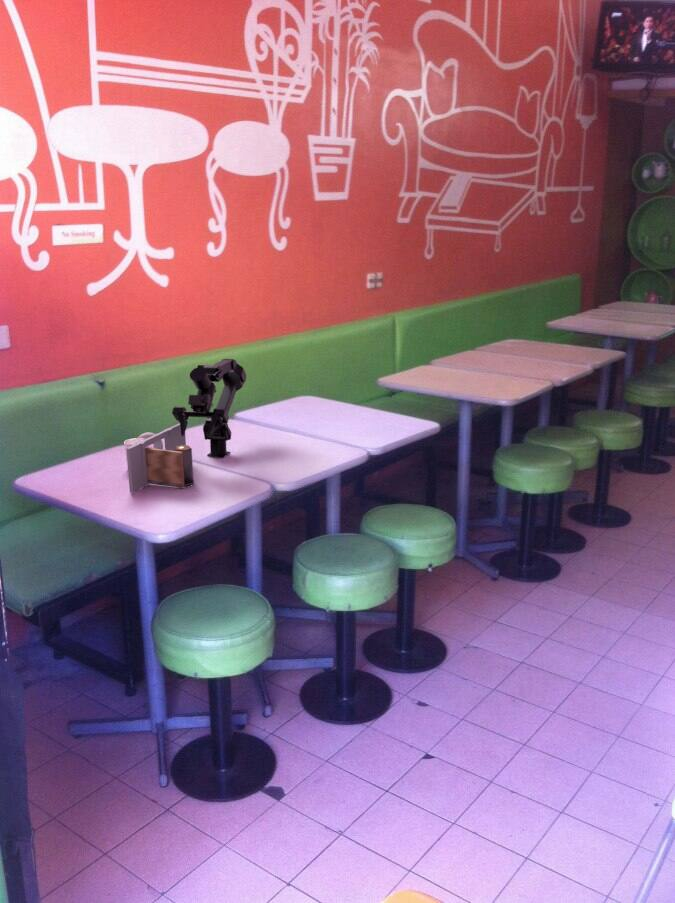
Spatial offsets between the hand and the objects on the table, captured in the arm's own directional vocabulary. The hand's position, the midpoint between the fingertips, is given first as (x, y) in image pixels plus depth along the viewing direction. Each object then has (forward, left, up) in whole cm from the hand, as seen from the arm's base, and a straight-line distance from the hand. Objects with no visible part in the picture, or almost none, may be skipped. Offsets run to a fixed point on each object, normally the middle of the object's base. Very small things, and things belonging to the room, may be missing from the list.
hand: (195, 436), depth 289 cm
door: (+15, -3, -13) cm, 20 cm away
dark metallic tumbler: (+11, +2, -13) cm, 17 cm away
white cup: (+2, -22, -13) cm, 26 cm away
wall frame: (+7, -10, -13) cm, 18 cm away
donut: (-9, -24, -13) cm, 29 cm away
